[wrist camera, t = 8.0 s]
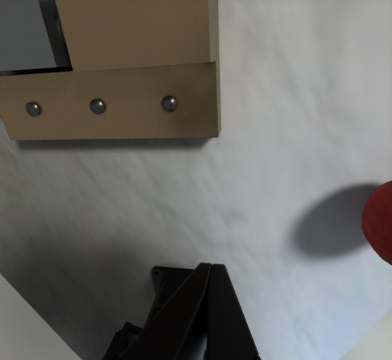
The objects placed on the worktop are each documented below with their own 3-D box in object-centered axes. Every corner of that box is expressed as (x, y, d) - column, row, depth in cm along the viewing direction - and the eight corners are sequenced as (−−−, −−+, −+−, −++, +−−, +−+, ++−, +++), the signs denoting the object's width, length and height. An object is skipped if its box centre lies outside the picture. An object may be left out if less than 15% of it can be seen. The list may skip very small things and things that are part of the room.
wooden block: (221, 129, 18) (213, 149, 14) (30, 133, 21) (-19, 151, 17) (217, -11, 15) (206, -34, 11) (-11, 18, 18) (-85, 8, 14)
